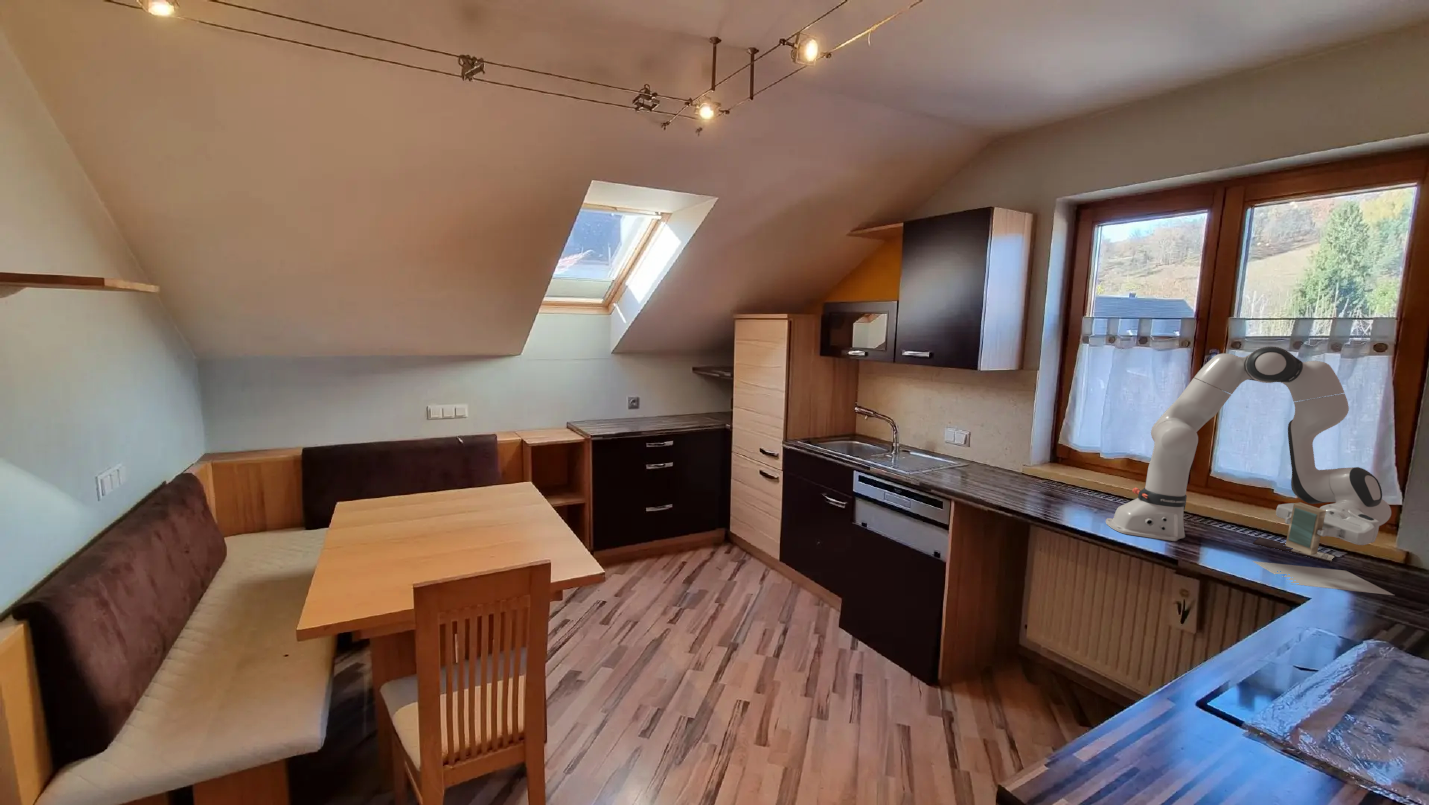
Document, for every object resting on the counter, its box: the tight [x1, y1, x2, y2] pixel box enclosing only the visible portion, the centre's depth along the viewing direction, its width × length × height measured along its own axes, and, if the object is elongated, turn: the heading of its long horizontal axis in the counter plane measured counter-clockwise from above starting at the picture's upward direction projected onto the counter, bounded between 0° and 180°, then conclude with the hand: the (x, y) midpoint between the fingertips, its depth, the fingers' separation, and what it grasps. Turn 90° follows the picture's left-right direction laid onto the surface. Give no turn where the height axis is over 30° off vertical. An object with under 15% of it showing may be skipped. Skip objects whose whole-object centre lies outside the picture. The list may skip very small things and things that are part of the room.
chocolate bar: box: [1252, 536, 1336, 564], centre depth 193 cm, size 9×1×18 cm
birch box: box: [1285, 501, 1326, 555], centre depth 167 cm, size 3×6×13 cm, turn 15°
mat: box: [1252, 560, 1394, 596], centre depth 171 cm, size 24×16×1 cm, turn 79°
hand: (1303, 527), depth 167 cm, fingers closed on birch box, 6 cm apart
